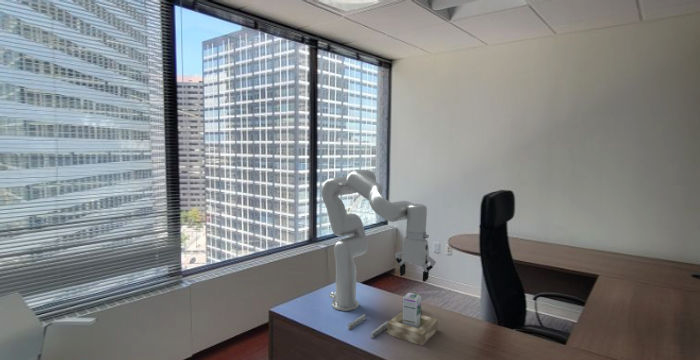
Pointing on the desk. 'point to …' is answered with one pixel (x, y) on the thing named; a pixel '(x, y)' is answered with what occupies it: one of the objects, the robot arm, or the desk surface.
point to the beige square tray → (412, 329)
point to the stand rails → (362, 318)
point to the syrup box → (412, 310)
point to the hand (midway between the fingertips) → (413, 277)
